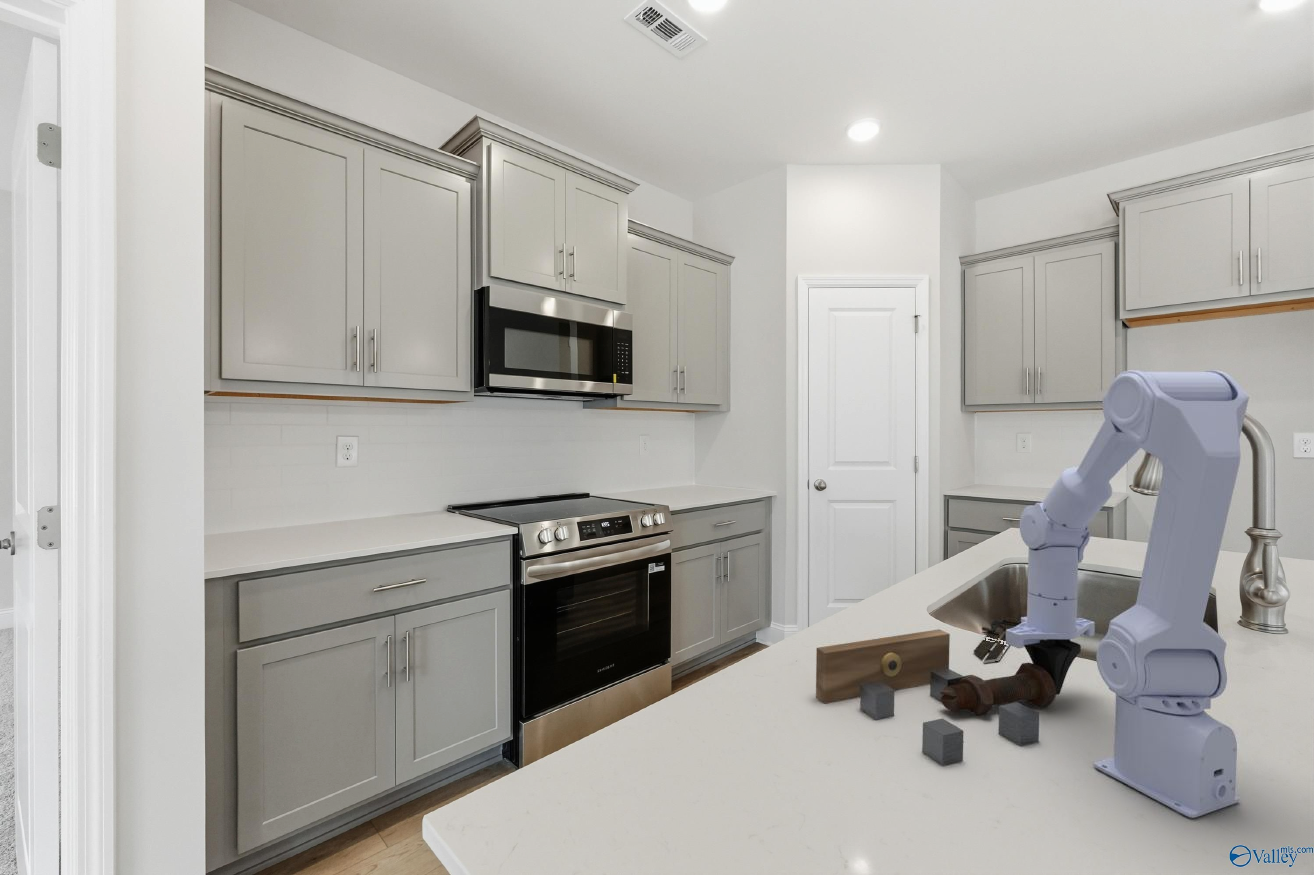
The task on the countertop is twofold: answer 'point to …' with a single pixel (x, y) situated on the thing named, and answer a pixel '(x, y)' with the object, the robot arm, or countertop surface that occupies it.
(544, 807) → the countertop surface
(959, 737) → the gray stone cubes
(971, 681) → the bolt
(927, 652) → the aperture board
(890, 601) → the countertop surface
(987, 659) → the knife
